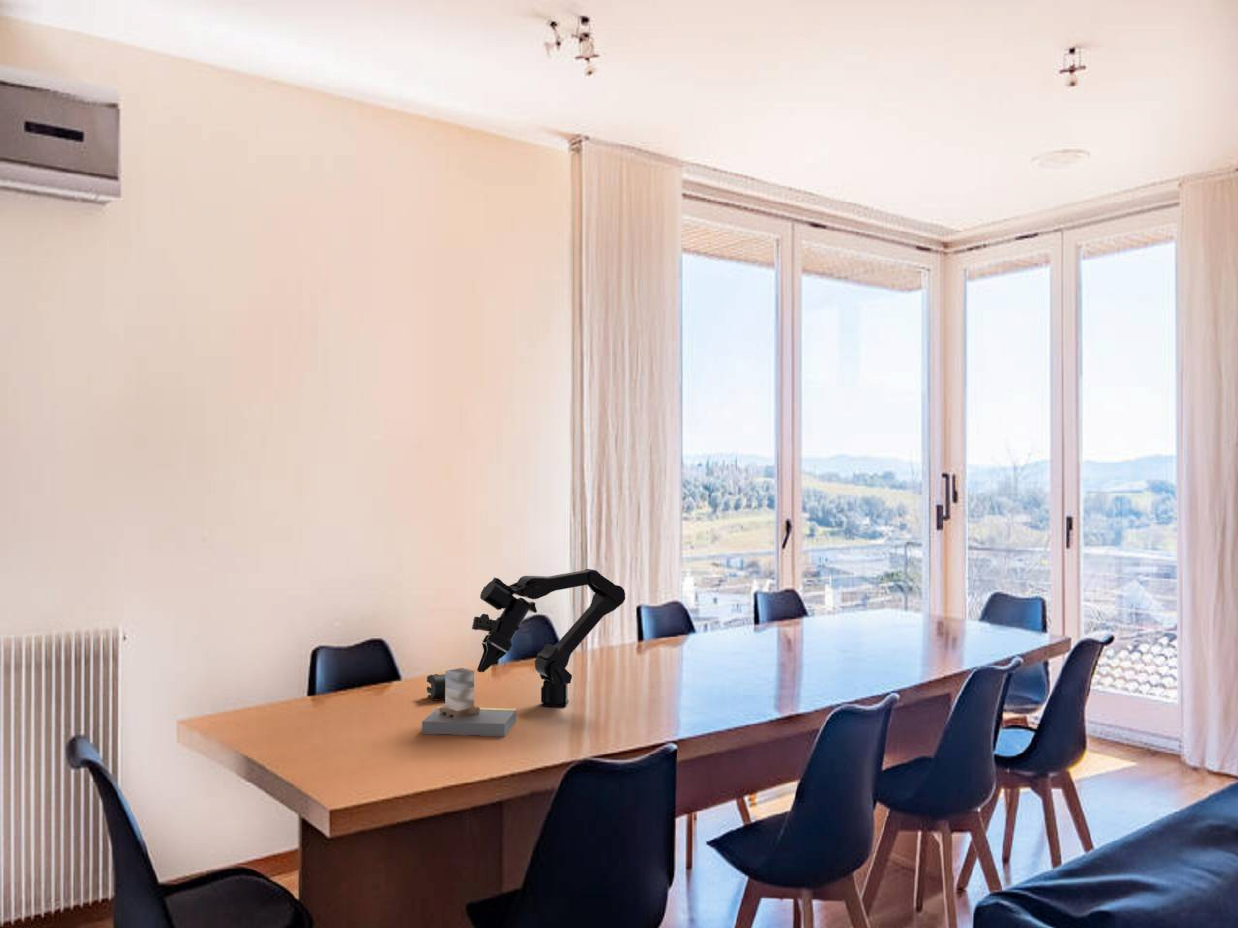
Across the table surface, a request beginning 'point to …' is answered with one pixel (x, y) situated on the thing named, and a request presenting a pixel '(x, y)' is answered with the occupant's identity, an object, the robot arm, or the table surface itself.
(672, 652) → the table surface
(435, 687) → the end cap
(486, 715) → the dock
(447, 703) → the wrapped pallet load
